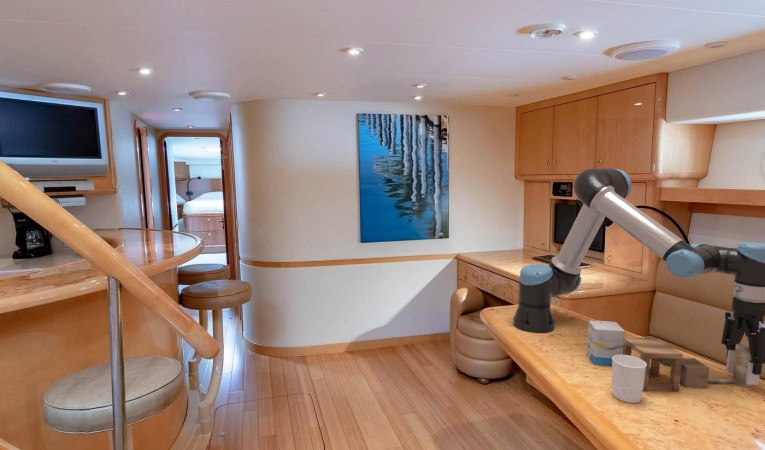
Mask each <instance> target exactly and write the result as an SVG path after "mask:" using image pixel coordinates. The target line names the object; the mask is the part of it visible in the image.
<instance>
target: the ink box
mask: <svg viewBox="0 0 765 450" xmlns="http://www.w3.org/2000/svg"><path fill="white" fill-rule="evenodd" d="M624 338H626V330H625V329H623V328H622V326H620V325H619V323H618V322H617V321H606V320H588V331H587V346H586V355H587V356H588V358H589V359H590V361H591V362H592V364H593V365H595V366H596V365H598V366H606V367H607V366H608V367H609V366H610V367H612V357H613V356H615V355H623V344H624V342H623V339H624Z"/></svg>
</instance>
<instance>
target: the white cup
mask: <svg viewBox="0 0 765 450" xmlns="http://www.w3.org/2000/svg"><path fill="white" fill-rule="evenodd" d="M646 366H647V364H646V362H645V361H643V360H641V359H640V358H639V357H636V356H634V355H633V356H632V355H631V356H629V355H615V356H613V357H612V366H611V385H612V389H611V390H612V395H613V396H614V398H615V399H617V400H620V401H622V402H625V403H629V404H630V403H631V404H637V403H640V402H641V401H642V398H643V397H642V396H643V392H644V391H643V387H644V381H645V373H646Z"/></svg>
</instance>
